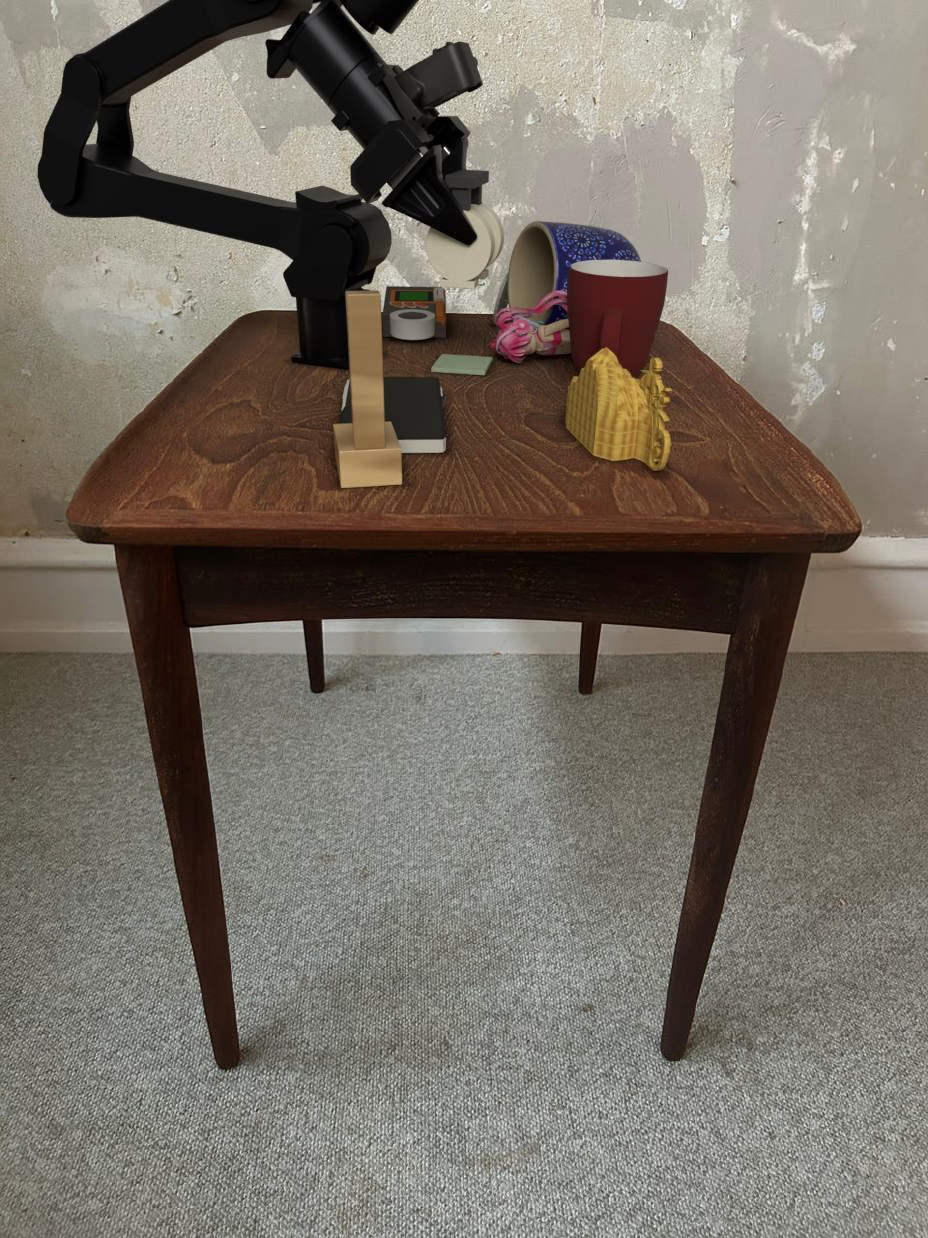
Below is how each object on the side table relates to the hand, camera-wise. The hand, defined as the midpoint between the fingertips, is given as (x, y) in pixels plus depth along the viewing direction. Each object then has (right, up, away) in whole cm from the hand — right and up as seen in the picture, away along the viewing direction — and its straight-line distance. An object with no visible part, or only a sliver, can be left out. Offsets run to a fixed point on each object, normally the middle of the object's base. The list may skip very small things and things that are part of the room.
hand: (481, 235), depth 75 cm
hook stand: (-8, -23, -16) cm, 29 cm away
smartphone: (-7, -18, -7) cm, 20 cm away
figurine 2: (+9, -21, -11) cm, 25 cm away
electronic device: (-7, -1, +20) cm, 21 cm away
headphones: (-1, -3, +2) cm, 4 cm away
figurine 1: (+2, +2, +20) cm, 20 cm away
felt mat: (-2, -9, +7) cm, 12 cm away
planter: (+16, +2, +16) cm, 23 cm away
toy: (+8, -8, +10) cm, 15 cm away
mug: (+11, -14, 0) cm, 17 cm away
